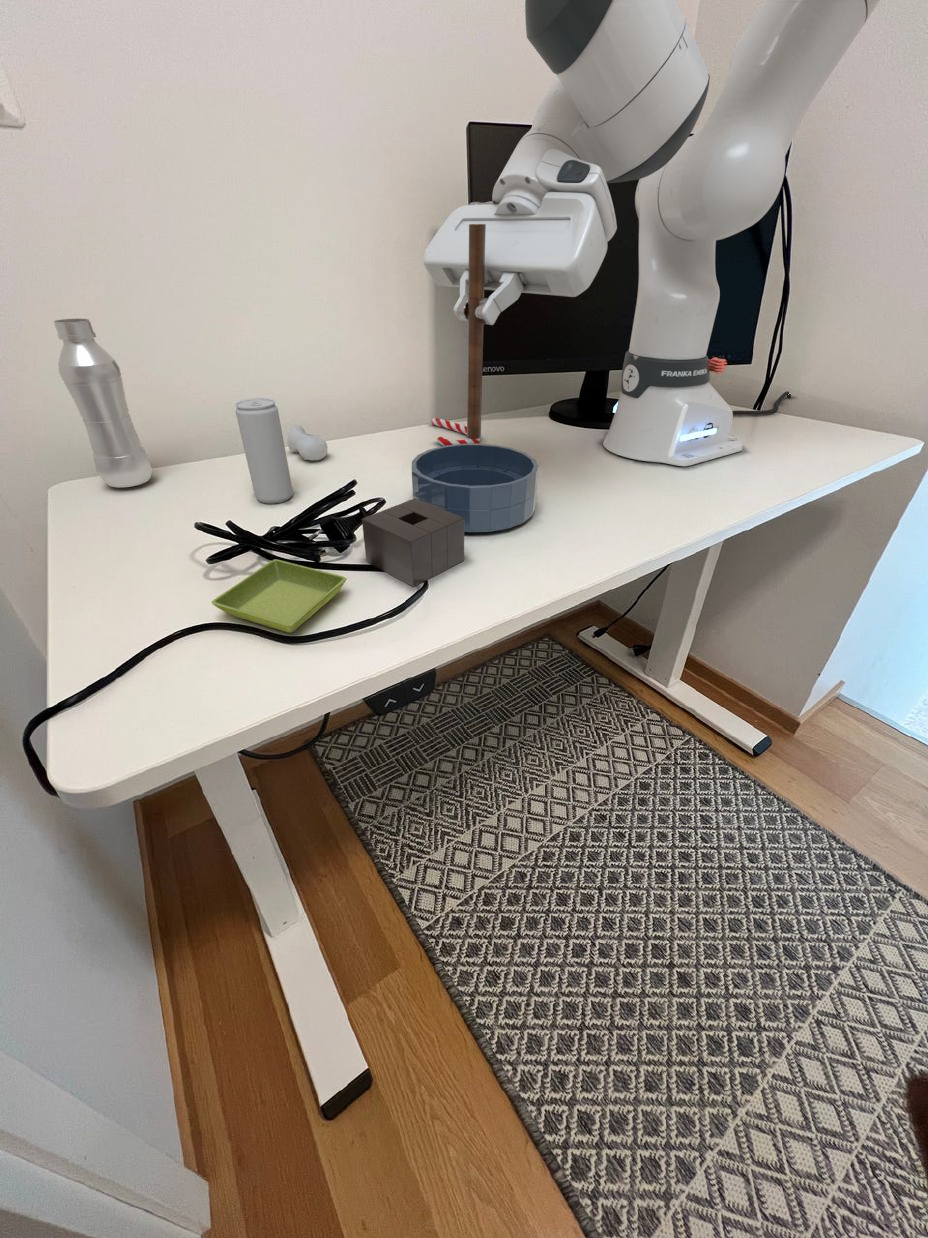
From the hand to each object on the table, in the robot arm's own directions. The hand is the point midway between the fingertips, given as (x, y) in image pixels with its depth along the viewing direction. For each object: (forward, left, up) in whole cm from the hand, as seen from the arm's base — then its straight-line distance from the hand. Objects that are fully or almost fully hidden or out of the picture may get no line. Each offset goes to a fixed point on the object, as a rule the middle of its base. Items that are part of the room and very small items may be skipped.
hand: (472, 318), depth 55 cm
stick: (-1, 0, -12) cm, 12 cm away
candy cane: (-9, -31, -22) cm, 39 cm away
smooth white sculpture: (+15, -29, -22) cm, 39 cm away
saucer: (+24, +13, -22) cm, 35 cm away
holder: (+10, +9, -21) cm, 25 cm away
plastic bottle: (+40, -26, -22) cm, 52 cm away
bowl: (-1, -1, -21) cm, 22 cm away
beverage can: (+22, -14, -22) cm, 34 cm away
